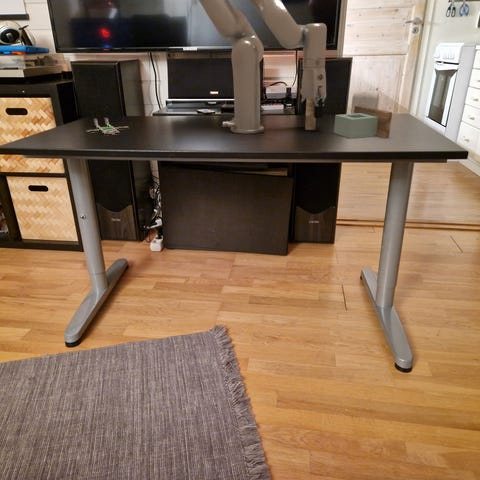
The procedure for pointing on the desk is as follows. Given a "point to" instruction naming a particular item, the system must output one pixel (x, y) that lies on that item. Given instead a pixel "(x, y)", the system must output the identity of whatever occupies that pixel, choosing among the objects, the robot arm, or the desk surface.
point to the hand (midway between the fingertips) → (311, 115)
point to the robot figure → (107, 128)
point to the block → (355, 125)
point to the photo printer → (365, 99)
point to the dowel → (310, 115)
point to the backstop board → (383, 119)
